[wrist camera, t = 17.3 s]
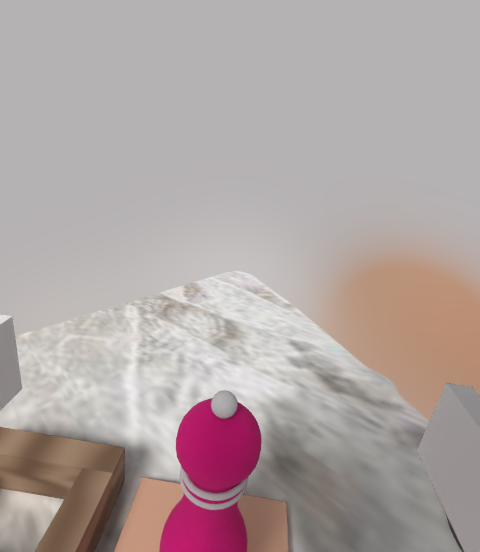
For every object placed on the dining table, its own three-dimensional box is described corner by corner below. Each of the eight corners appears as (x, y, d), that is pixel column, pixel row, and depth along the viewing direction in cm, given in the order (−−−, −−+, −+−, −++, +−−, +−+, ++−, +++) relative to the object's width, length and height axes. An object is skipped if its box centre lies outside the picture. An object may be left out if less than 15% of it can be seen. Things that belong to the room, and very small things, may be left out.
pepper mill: (143, 563, 30) (151, 380, 23) (210, 516, 35) (235, 351, 28) (183, 655, 25) (211, 459, 18) (256, 588, 30) (302, 408, 23)
